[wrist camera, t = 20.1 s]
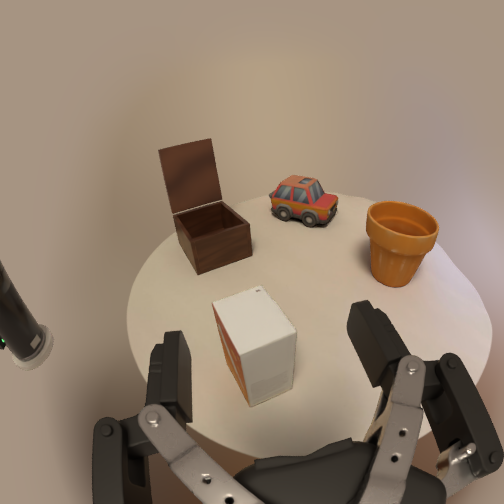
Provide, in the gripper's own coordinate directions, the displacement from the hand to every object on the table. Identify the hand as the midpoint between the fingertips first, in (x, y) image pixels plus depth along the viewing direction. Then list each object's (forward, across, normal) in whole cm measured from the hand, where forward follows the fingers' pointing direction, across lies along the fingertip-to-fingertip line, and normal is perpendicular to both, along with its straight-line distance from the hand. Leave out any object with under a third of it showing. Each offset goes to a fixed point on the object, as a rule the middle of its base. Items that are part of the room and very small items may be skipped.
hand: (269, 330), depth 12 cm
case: (+45, +5, +24) cm, 51 cm away
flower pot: (+27, -30, +24) cm, 47 cm away
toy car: (+56, -20, +24) cm, 64 cm away
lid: (+53, +8, +8) cm, 54 cm away
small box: (+11, 0, +24) cm, 26 cm away
